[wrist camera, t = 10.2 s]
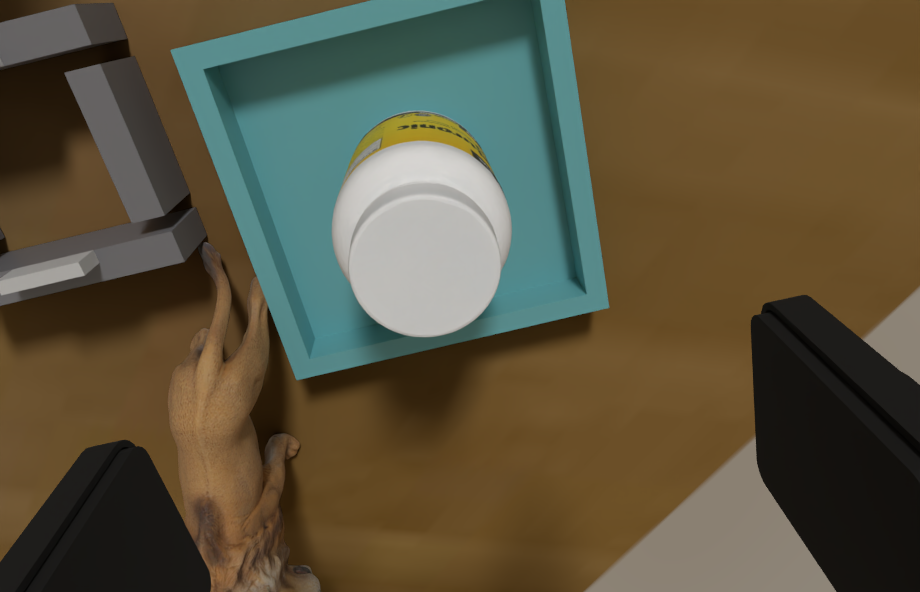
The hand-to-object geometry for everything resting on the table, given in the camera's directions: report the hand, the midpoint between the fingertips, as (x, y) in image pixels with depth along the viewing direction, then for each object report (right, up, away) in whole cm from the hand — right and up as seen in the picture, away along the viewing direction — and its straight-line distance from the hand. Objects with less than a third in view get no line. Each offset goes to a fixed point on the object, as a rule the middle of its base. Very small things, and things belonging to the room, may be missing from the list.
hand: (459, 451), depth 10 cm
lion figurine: (-9, -2, +20) cm, 22 cm away
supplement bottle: (-2, +7, +16) cm, 18 cm away
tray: (-2, +7, +17) cm, 18 cm away
